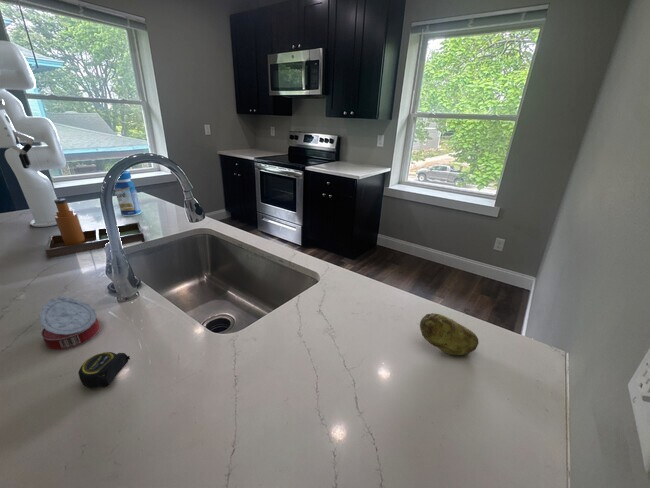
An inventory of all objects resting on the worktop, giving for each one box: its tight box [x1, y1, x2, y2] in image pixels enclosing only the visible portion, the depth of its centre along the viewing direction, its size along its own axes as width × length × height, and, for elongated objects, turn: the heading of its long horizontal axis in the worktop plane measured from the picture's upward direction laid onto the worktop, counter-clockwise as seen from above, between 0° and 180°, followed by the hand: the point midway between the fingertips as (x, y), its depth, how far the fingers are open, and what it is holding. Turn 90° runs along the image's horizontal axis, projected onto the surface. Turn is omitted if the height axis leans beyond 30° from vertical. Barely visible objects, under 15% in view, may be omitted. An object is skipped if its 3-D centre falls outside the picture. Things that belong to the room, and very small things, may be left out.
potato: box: [419, 312, 479, 356], centre depth 68 cm, size 8×13×8 cm, turn 63°
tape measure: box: [77, 351, 131, 389], centre depth 58 cm, size 7×7×4 cm
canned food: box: [38, 296, 101, 351], centre depth 68 cm, size 11×10×10 cm
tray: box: [45, 221, 146, 259], centre depth 112 cm, size 14×28×4 cm, turn 126°
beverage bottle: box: [114, 170, 142, 217], centre depth 138 cm, size 8×8×20 cm
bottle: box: [54, 197, 86, 246], centre depth 105 cm, size 6×6×18 cm
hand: (4, 168), depth 86 cm, fingers open, 9 cm apart
